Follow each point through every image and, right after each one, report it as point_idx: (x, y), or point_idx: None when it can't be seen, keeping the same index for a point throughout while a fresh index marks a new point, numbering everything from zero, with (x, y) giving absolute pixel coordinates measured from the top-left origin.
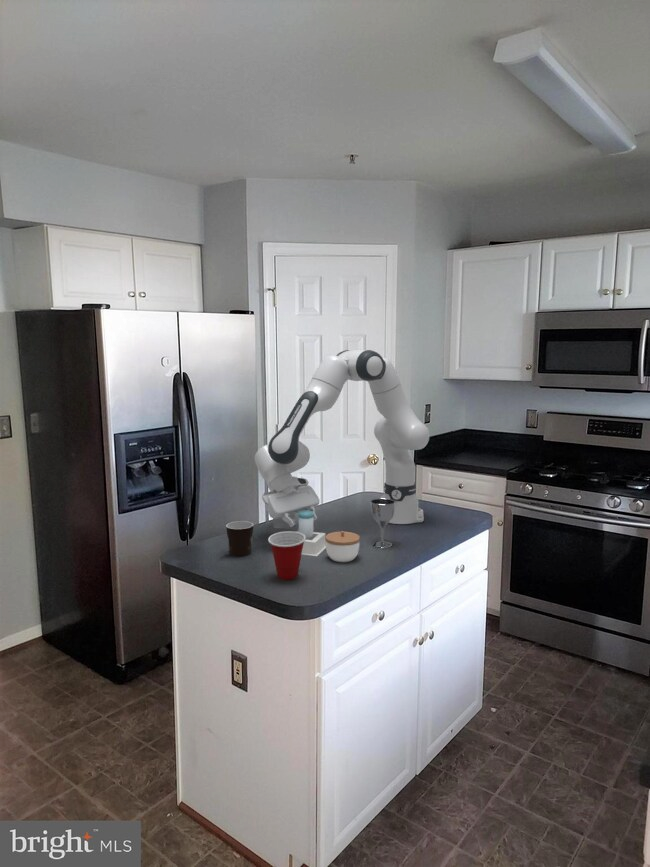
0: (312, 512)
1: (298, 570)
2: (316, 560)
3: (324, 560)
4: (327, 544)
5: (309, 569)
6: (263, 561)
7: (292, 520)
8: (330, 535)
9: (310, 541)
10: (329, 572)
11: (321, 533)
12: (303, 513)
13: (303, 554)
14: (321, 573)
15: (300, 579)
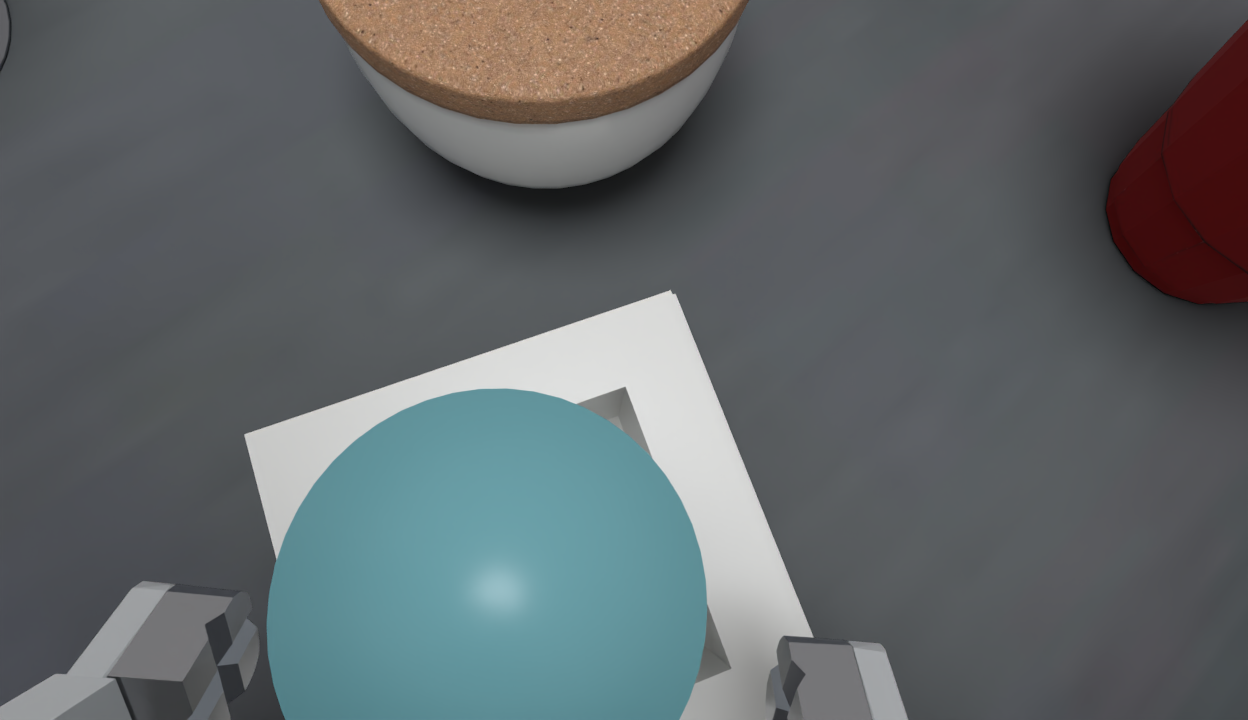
0: (389, 445)
1: (1162, 116)
2: (714, 275)
3: (661, 216)
4: (736, 27)
5: (933, 180)
6: (1135, 696)
7: (864, 714)
8: (618, 12)
9: (680, 364)
10: (858, 14)
11: (289, 475)
12: (630, 575)
13: (733, 442)
14: (923, 49)
15: (1144, 100)
